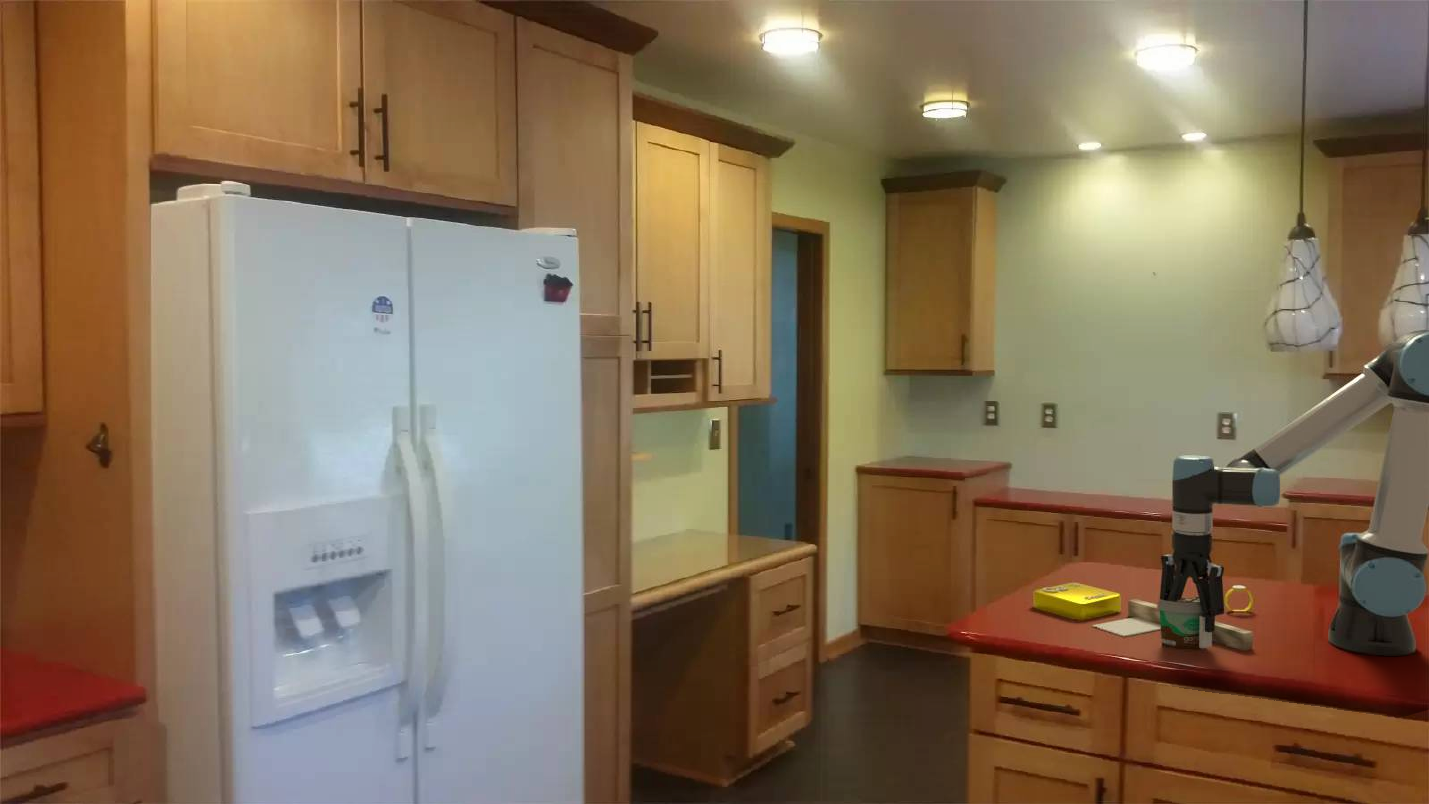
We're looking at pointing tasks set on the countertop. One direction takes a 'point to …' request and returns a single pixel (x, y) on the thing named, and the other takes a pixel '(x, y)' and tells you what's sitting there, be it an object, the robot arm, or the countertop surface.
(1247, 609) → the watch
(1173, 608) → the food container
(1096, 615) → the element tile
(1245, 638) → the maple straightedge
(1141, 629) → the plate
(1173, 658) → the countertop surface
